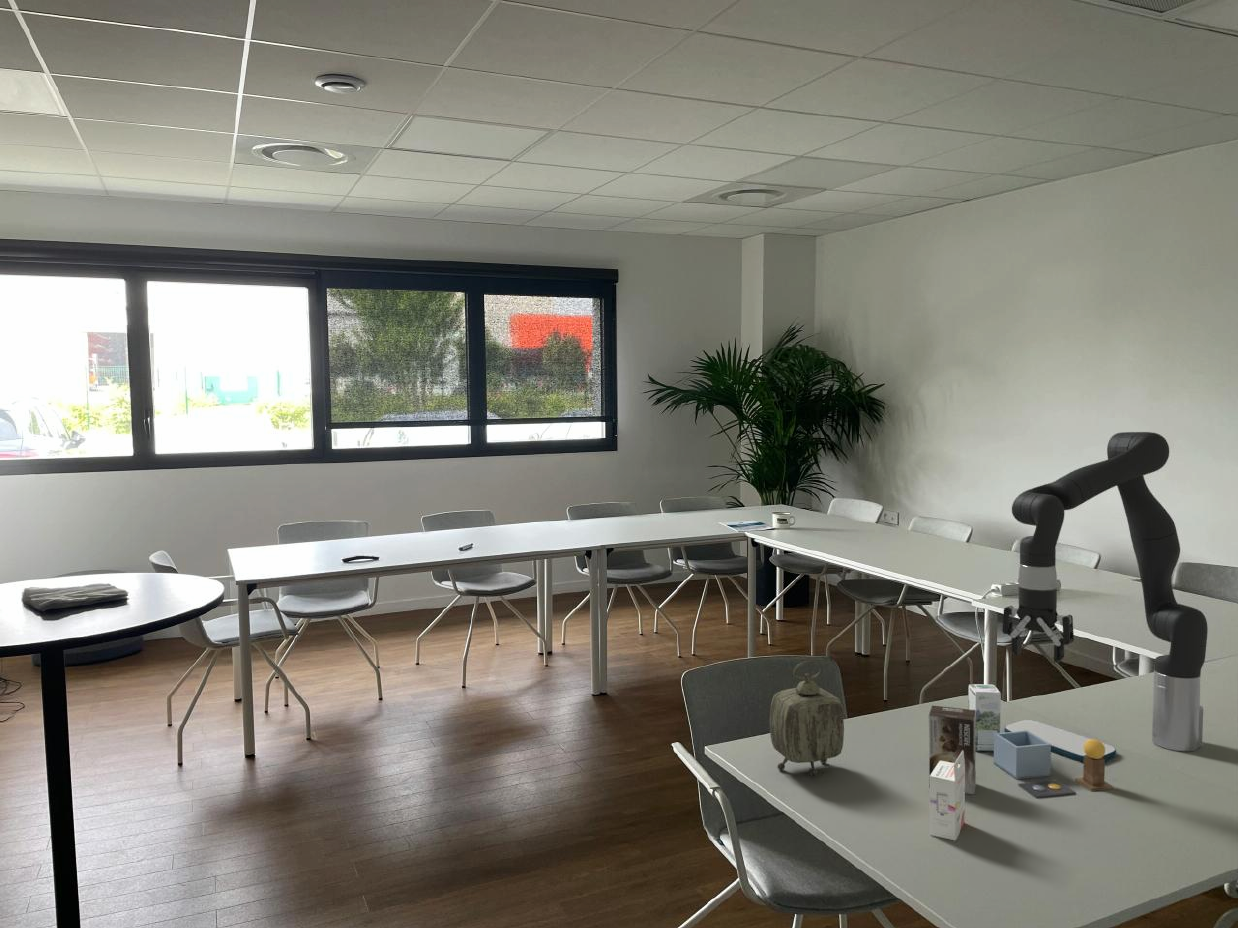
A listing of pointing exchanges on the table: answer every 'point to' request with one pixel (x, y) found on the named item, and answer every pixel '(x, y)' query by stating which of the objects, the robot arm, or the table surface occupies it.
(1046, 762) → the blue open box
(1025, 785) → the card
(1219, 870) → the table surface
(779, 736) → the tabletop clock
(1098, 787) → the brown square ball stand
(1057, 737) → the white rounded slab
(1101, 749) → the ball amber
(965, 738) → the coffee box
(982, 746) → the syrup box
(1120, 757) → the table surface
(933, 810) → the ink cartridge box
